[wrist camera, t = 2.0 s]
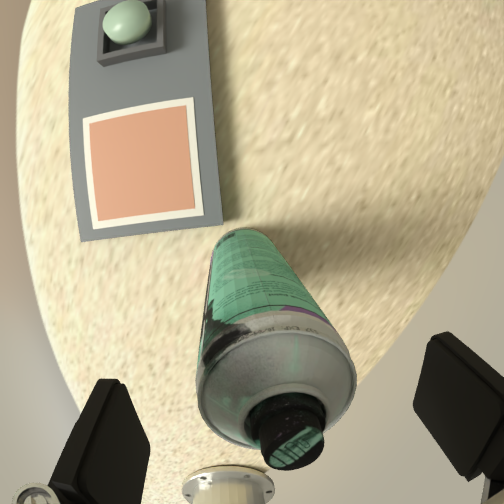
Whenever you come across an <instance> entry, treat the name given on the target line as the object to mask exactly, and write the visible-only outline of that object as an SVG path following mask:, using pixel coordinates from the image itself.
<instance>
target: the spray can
mask: <svg viewBox="0 0 504 504" xmlns="http://www.w3.org/2000/svg"><path fill="white" fill-rule="evenodd" d="M356 386H357V374H356V370H355V366H354V363H353V361H352V360H351V358H350V354H349V350H348V349H347V347H346V345H345V343H344V342H343V340H342V338H341V337H340V335H339V334H338V333H337V331H336V330H335V328H334V327H333V326H332V324H331V323H330V321H329V320H328V319H327V317H326V316H325V314H324V313H323V312H322V310H321V309H320V307H319V306H318V305H317V303H316V302H315V300H314V299H313V298H312V296H311V295H310V294H309V292H308V291H307V289H306V288H305V287H304V285H303V284H302V282H301V281H300V280H299V278H298V277H297V276H296V274H295V273H294V271H293V270H292V269H291V267H290V266H289V265H288V263H287V262H286V261H285V259H284V258H283V256H282V255H281V254H280V252H279V251H278V250H277V248H276V247H275V246H274V244H273V243H272V241H271V240H270V239H269V238H268V237H267V236H266V235H264V234H263V233H261V232H260V231H257V230H255V229H250V228H239V229H234V230H232V231H229V232H228V233H226V234H225V235H223V236H222V237H221V238H220V239H219V240H218V242H217V243H216V245H215V247H214V249H213V252H212V256H211V262H210V269H209V276H208V284H207V291H206V298H205V306H204V313H203V321H202V329H201V337H200V346H199V354H198V363H197V372H196V393H197V397H198V408H199V410H200V413H201V416H202V418H203V420H204V421H205V423H206V424H207V425H208V427H209V428H210V429H211V430H212V431H213V432H214V433H215V434H217V435H218V436H219V437H221V438H223V439H224V440H226V441H228V442H230V443H232V444H235V445H238V446H240V447H244V448H249V449H254V450H261V453H262V455H263V457H264V461H265V462H266V464H267V465H268V466H270V467H271V468H274V469H278V470H285V471H286V470H294V469H299V468H302V467H304V466H307V465H309V464H311V463H312V462H314V461H315V460H316V459H317V458H318V457H319V456H320V454H321V453H322V451H323V448H324V437H323V433H324V432H326V431H327V430H329V429H330V428H331V427H332V426H334V425H335V424H336V423H337V422H338V421H339V420H340V419H341V417H342V416H343V415H344V413H345V412H346V411H347V410H348V408H349V406H350V404H351V402H352V400H353V398H354V394H355V390H356Z"/></svg>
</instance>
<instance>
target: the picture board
mask: <svg viewBox="0 0 504 504" xmlns="http://www.w3.org/2000/svg"><path fill="white" fill-rule="evenodd" d="M123 1H127V0H98V1H95V2H92V3H89V4H86V5H83V6H80V7H77V8H75V15H74V23H73V32H72V42H71V54H70V70H69V140H70V157H71V170H72V180H73V190H74V198H75V206H76V214H77V221H78V227H79V233H80V239H81V242H86V241H93V240H101V239H108V238H116V237H124V236H131V235H139V234H148V233H156V232H164V231H173V230H181V229H190V228H199V227H208V226H218V225H223V214H222V204H221V193H220V183H219V172H218V161H217V150H216V139H215V127H214V115H213V102H212V89H211V75H210V61H209V46H208V30H207V13H206V0H138V1H141V2H143V3H144V4H145V5H146V6H147V9H148V11H149V13H150V15H151V17H152V26H151V29H150V30H149V32H148V33H147V34H146V36H145V37H143V38H142V39H141V40H139V41H137V42H135V43H133V44H129V45H119V44H116V43H114V42H113V41H112V40H111V39H110V38H109V36H108V35H107V34H106V33H105V31H104V30H103V20H104V17H105V15H106V14H107V13H108V11H109V10H110V9H111V8H112V7H114V6H115V5H117V4H119V3H121V2H123Z"/></svg>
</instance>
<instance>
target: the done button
mask: <svg viewBox="0 0 504 504" xmlns="http://www.w3.org/2000/svg"><path fill="white" fill-rule="evenodd" d="M151 26H152V17H151V15H150V13H149V11H148V9H147V6H146V5H145V4H144V3H143V2H141V1H138V0H127V1H123V2H121V3H119V4H117V5H115V6H114V7H112V8H111V9H110V10H109V11H108V13H107V14H106V15H105V17H104V20H103V30H104V31H105V33H106V34H107V35H108V36H109V38H110V39H111V40H112V41H113V42H114V43H116V44H119V45H129V44H133V43H135V42H137V41H139V40H141V39H142V38H143V37H145V36H146V34H147V33H148V32H149V30H150V29H151Z"/></svg>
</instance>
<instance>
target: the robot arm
mask: <svg viewBox="0 0 504 504" xmlns="http://www.w3.org/2000/svg"><path fill="white" fill-rule="evenodd" d="M413 408H414V411H415V413H416V414H417V415H418V417H419V418H420V419H421V421H422V422H423V424H424V425H425V426H426V428H427V429H428V431H429V432H430V433H431V434H432V436H433V438H434V439H435V440H436V442H437V443H438V445H439V446H440V447H441V449H442V450H443V452H444V453H445V455H446V456H447V458H448V459H449V460H450V462H451V463H452V465H453V466H454V468H455V469H456V471H457V472H458V473H459V475H461V476H465V478H466V479H467V481H468V482H469V481H471V480H472V479H474V478H476V477H477V476H479V475H480V474H481V473H482V472H483V473H484V475H485V482H484V488H483V493H482V499H481V504H504V377H503V376H501V375H500V374H499V373H498V372H497V371H496V370H494V369H493V368H492V367H491V366H490V365H489V364H487V363H486V362H485V361H484V360H483V359H482V358H480V357H479V356H478V355H477V354H476V353H475V352H473V351H472V350H471V349H470V348H469V347H467V346H466V345H465V344H464V343H462V342H461V341H460V340H459V339H458V338H456V337H455V336H454V335H453V334H452V333H450V332H443V333H440V334H437V335H434V336H432V337H431V340H430V341H429V342H428V343H427V347H426V352H425V356H424V361H423V366H422V370H421V374H420V378H419V382H418V386H417V389H416V393H415V397H414V400H413ZM149 456H150V443H149V441H148V438H147V436H146V434H145V432H144V429H143V427H142V425H141V423H140V420H139V418H138V415H137V413H136V411H135V408H134V406H133V403H132V401H131V398H130V396H129V393H128V390H127V388H126V386H125V384H121V383H120V381H119V380H118V379H99V380H98V381H97V383H96V385H95V387H94V389H93V391H92V393H91V395H90V397H89V399H88V401H87V403H86V405H85V407H84V409H83V411H82V413H81V415H80V417H79V419H78V421H77V422H76V423H75V425H74V428H73V429H72V432H71V434H70V436H69V438H68V440H67V442H66V445H65V447H64V449H63V451H62V453H61V456H60V458H59V460H58V463H57V465H56V467H55V469H54V472H53V474H52V477H51V479H50V482H49V484H48V486H47V485H44V484H41V483H30V484H26V485H24V486H22V487H21V488H20V489H18V490H17V491H16V493H15V495H14V496H13V500H12V504H141V500H142V494H143V488H144V483H145V477H146V472H147V466H148V461H149ZM274 492H275V488H274V483H273V481H272V480H271V478H269V476H267V475H266V474H264V473H262V472H260V471H257V470H254V469H250V468H246V467H239V466H218V467H210V468H206V469H202V470H199V471H196V472H194V473H192V474H191V475H189V476H188V477H187V478H186V479H185V480H184V482H183V484H182V494H183V496H184V498H185V499H186V500H187V501H188V502H189V503H191V504H266V503H267V502H269V500H270V499H271V498H272V497H273V495H274Z"/></svg>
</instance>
